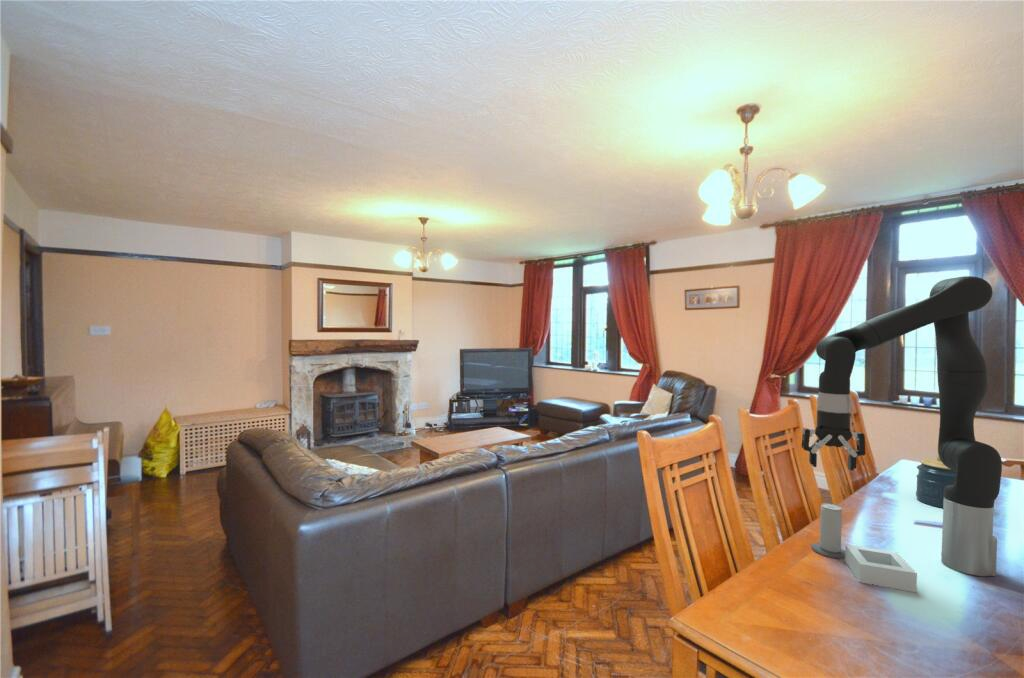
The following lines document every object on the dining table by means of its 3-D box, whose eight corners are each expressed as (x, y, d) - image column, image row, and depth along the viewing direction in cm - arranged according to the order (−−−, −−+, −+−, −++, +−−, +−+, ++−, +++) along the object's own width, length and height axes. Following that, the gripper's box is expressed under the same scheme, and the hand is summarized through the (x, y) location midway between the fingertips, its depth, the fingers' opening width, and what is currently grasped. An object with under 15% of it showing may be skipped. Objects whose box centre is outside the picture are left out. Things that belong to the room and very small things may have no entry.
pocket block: (896, 569, 117) (896, 552, 117) (916, 592, 106) (916, 573, 106) (844, 561, 121) (845, 544, 121) (859, 582, 110) (860, 563, 110)
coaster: (841, 547, 128) (841, 545, 128) (851, 561, 121) (851, 559, 121) (808, 542, 131) (808, 540, 131) (815, 555, 124) (815, 553, 124)
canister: (959, 501, 166) (961, 453, 165) (970, 513, 155) (972, 461, 154) (912, 494, 173) (913, 447, 172) (919, 505, 162) (921, 455, 161)
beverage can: (844, 554, 123) (845, 510, 123) (824, 552, 124) (825, 509, 124) (835, 546, 128) (836, 504, 127) (816, 544, 129) (817, 502, 128)
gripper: (860, 409, 126) (858, 467, 126) (800, 405, 131) (798, 461, 132) (870, 413, 119) (868, 475, 119) (806, 409, 124) (805, 468, 125)
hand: (832, 468), depth 125 cm, fingers open, 8 cm apart
